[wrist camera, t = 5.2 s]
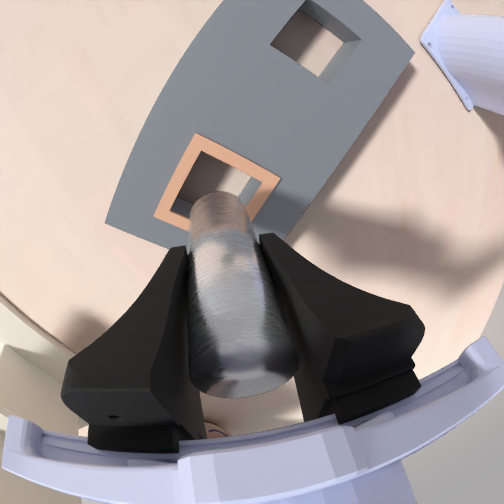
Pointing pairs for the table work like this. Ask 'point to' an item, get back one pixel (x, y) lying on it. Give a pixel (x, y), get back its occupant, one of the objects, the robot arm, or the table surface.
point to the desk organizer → (31, 397)
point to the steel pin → (233, 305)
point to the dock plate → (257, 115)
